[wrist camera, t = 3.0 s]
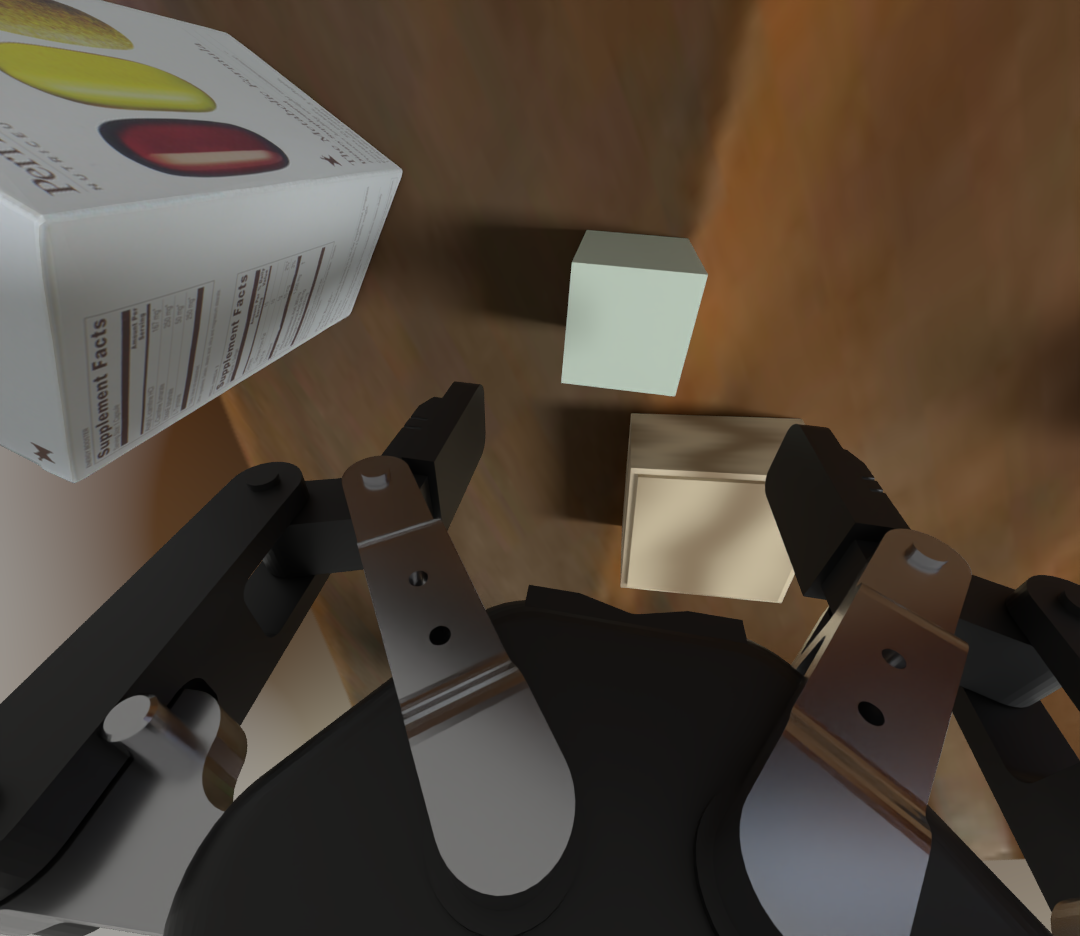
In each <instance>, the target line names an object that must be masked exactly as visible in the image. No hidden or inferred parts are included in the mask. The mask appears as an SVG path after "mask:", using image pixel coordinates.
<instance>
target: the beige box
mask: <svg viewBox="0 0 1080 936" xmlns="http://www.w3.org/2000/svg"><path fill="white" fill-rule="evenodd" d="M794 424H801V425H805V424H804V422H803V420H802V419H790V418H760V417H729V416H699V415H669V414H639V413H631V421H630V433H629V446H628V458H627V471H626V483H625V495H624V508H623V520H622V549H621V587H625V588H635V589H645V590H655V591H665V592H675V593H685V594H695V595H705V596H716V597H726V598H736V599H746V600H756V601H766V602H776V603H782V601H783V598H784V596H785V594H786V592H787V590H788V587H789V585H790V583H791V581H792V579H793V576H794V574H795V573H794V570H793V567H792V564H791V562H790V559H789V556H788V554H787V551H786V548H785V546H784V543H783V540H782V538H781V535H780V532H779V529H778V527H777V524H776V521H775V519H774V516H773V513H772V511H771V508H770V505H769V502H768V500H767V497H766V494H765V480H766V476H767V473H768V470H769V468H770V466H771V464H772V462H773V460H774V458H775V456H776V454H777V451H778V449H779V447H780V445H781V443H782V441H783V439H784V437H785V435H786V433H787V431H788V429H789V428H790V427H791V426H792V425H794Z"/></svg>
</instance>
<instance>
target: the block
mask: <svg viewBox="0 0 1080 936" xmlns="http://www.w3.org/2000/svg"><path fill="white" fill-rule="evenodd" d="M707 276H708V274H707V272H706V270H705V269H704V267H703V265H702V263H701V261H700V259H699V258H698V256H697V254H696V252H695V250H694V248H693V246H692V245H691V243H690V241H689V239H687V238H675V237H663V236H652V235H640V234H628V233H616V232H605V231H593V230H586V233H585V235H584V237H583V239H582V241H581V243H580V246H579V248H578V250H577V252H576V254H575V256H574V259H573V261H572V266H571V278H570V289H569V301H568V312H567V324H566V335H565V347H564V358H563V370H562V381H561V383H568V384H576V385H584V386H593V387H601V388H609V389H618V390H626V391H634V392H642V393H651V394H659V395H667V396H675V394H676V391H677V387H678V383H679V380H680V376H681V372H682V369H683V365H684V361H685V357H686V354H687V350H688V346H689V343H690V339H691V335H692V332H693V328H694V324H695V321H696V317H697V313H698V309H699V306H700V302H701V298H702V295H703V291H704V287H705V284H706V280H707Z"/></svg>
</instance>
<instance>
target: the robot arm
mask: <svg viewBox="0 0 1080 936" xmlns="http://www.w3.org/2000/svg"><path fill="white" fill-rule="evenodd" d="M484 444H485V408H484V390H483V386H482V385H480V384H472V383H463V382H453V384H452V385H451V386H450V388H449V389H448V391H447V392H446V394H445V395H444V396H443V398H438V397H433V398H431V399H430V400H428V401H426V402H424V403H423V404H421V405H419V407H418V408H417V409H416V411H415V412H414V413H413V414H412V416H411V419H410V418H409V420H408V421H407V422H406V424H405V425H404V428H402V429H401V430H400V432H399V433H398V434H397V435H396V437H395V438H394V439H393V441H392V442H391V443H390V445H389V446H388V447H387V449H386V450H385V451H384V453H383V454H382V455H381V456H374V457H369V458H365V459H363V460H360V461H358V462H356V463H354V464H353V465H351V466H350V467H349V468H348V469H347V470H346V471H345V472H344V474H343V476H342V478H338V479H326V480H313V481H305V480H304V478H303V475H302V472H301V470H300V469H299V468H298V467H297V466H295V465H293V464H290V463H285V462H271V463H265V464H260V465H257V466H254V467H251V468H249V469H247V470H245V471H243V472H241V473H240V474H238V475H237V476H236V477H235V478H233V479H232V480H231V481H230V482H229V483H228V484H227V485H226V486H225V487H224V488H223V489H222V490H221V491H220V492H219V493H218V494H217V495H216V496H214V497H213V498H212V499H211V501H209V502H208V503H207V504H206V505H205V506H204V507H203V508H202V509H201V510H200V511H199V512H198V513H197V514H196V515H195V516H194V517H193V518H192V519H191V520H190V521H189V522H188V523H187V524H186V525H185V526H184V527H182V528H181V529H180V530H179V531H178V532H177V533H176V535H174V536H173V537H172V538H171V539H170V540H169V541H168V542H167V543H166V544H165V545H164V546H163V547H162V548H161V549H160V550H159V551H158V552H157V553H156V554H155V555H154V556H153V557H152V558H150V559H149V561H147V562H146V564H144V565H143V566H142V567H141V568H140V569H139V570H138V571H137V572H136V573H135V574H134V575H133V576H132V577H131V578H130V579H129V580H128V581H127V582H126V583H125V584H124V585H123V586H122V587H121V588H120V589H119V590H117V591H116V592H115V593H114V594H113V595H112V596H111V597H110V598H109V599H108V600H107V601H106V602H105V603H104V604H103V605H102V606H101V607H100V608H99V609H98V610H97V611H96V612H95V613H94V614H93V615H92V616H91V617H90V618H89V619H88V620H87V621H85V623H83V624H82V625H81V626H80V627H79V628H78V629H77V630H76V631H75V632H74V633H73V634H72V635H71V636H70V637H69V638H68V639H67V640H66V641H65V642H64V643H63V644H62V645H61V646H60V647H59V648H58V649H57V650H56V651H55V652H54V653H52V654H51V655H50V656H49V657H48V658H47V659H46V660H45V661H44V662H43V663H42V664H41V665H40V666H39V667H38V668H37V669H36V670H35V671H34V672H33V673H32V674H31V675H30V676H29V677H28V678H27V679H26V680H25V681H24V682H23V683H22V684H21V685H19V686H18V688H17V689H15V690H14V691H13V692H12V693H11V694H10V695H9V696H8V697H7V698H6V699H5V700H4V701H3V702H2V703H1V704H0V934H4V935H10V936H25V935H29V934H34V935H41V936H84V935H86V934H89V933H91V932H93V931H95V930H97V929H99V928H100V927H101V928H107V929H113V930H119V931H125V932H132V933H138V934H144V935H151V936H1080V760H1079V759H1078V757H1077V756H1076V754H1075V753H1074V751H1073V750H1072V748H1071V747H1070V745H1069V744H1068V742H1067V741H1066V739H1065V738H1064V736H1063V735H1062V733H1061V731H1060V730H1059V728H1058V727H1057V725H1056V724H1055V722H1054V721H1053V719H1052V718H1051V716H1050V715H1049V713H1048V712H1047V710H1046V709H1045V707H1044V706H1043V704H1042V703H1041V701H1040V700H1041V699H1042V698H1044V697H1046V696H1047V695H1049V694H1051V693H1052V692H1054V691H1056V690H1058V689H1059V688H1061V687H1062V688H1063V689H1064V690H1065V692H1066V693H1067V695H1068V696H1069V697H1070V699H1071V700H1072V702H1073V703H1074V704H1075V706H1076V707H1077V709H1078V710H1079V711H1080V585H1078V584H1075V583H1073V582H1070V581H1068V580H1064V579H1061V578H1058V577H1053V576H1047V575H1037V576H1033V577H1031V578H1029V579H1028V580H1027V581H1025V582H1024V583H1023V584H1022V585H1021V586H1020V587H1018V588H1017V589H1016V590H1015V589H1012V588H1009V587H1006V586H1003V585H1000V584H997V583H994V582H991V581H989V580H986V579H983V578H980V577H977V576H974V575H972V573H971V569H970V567H969V565H968V564H967V562H966V561H965V560H964V559H963V558H962V556H961V555H960V554H958V553H957V552H956V551H955V550H954V549H952V548H951V547H950V546H948V545H947V544H945V543H943V542H942V541H940V540H938V539H936V538H934V537H932V536H929V535H927V534H924V533H922V532H918V531H914V530H911V529H910V528H909V526H908V525H907V524H906V522H905V521H904V519H903V518H902V516H901V515H900V514H899V512H898V511H897V509H896V508H895V506H894V505H893V504H892V502H891V501H890V499H889V498H888V496H887V495H886V494H885V493H883V489H882V488H881V486H880V485H879V484H878V482H877V481H874V479H875V478H874V476H873V475H872V474H871V472H870V471H869V469H868V468H867V466H866V465H865V464H864V463H863V462H862V461H860V460H859V459H858V458H857V457H855V456H854V455H853V454H851V453H850V452H849V451H848V450H844V449H843V448H842V447H841V445H840V444H839V442H838V441H837V439H836V438H835V436H834V435H833V433H832V432H831V430H830V429H829V428H826V427H818V426H810V425H801V424H794V425H792V426H791V427H790V428H789V429H788V431H787V433H786V435H785V437H784V439H783V441H782V443H781V445H780V447H779V449H778V451H777V454H776V456H775V458H774V460H773V462H772V464H771V466H770V468H769V470H768V473H767V476H766V480H765V494H766V497H767V500H768V502H769V505H770V508H771V511H772V513H773V516H774V519H775V521H776V524H777V527H778V529H779V532H780V535H781V538H782V540H783V543H784V546H785V548H786V551H787V554H788V556H789V559H790V562H791V564H792V567H793V570H794V573H795V575H796V578H797V581H798V583H799V586H800V589H801V591H802V594H803V596H805V597H812V598H818V599H824V600H827V602H828V604H829V607H828V608H827V609H826V610H825V612H824V613H823V614H822V616H821V617H820V619H819V621H818V622H817V624H816V625H815V627H814V629H813V630H812V632H811V634H810V635H809V637H808V638H807V640H806V642H805V643H804V645H803V647H802V648H801V650H800V652H799V653H798V655H797V656H796V658H795V660H794V661H793V663H792V665H790V664H789V663H787V662H786V661H785V660H783V659H782V658H781V657H779V656H778V655H776V654H775V653H773V652H771V651H770V650H768V649H766V648H765V647H763V646H761V645H759V644H757V643H755V642H753V641H751V640H748V639H747V638H746V634H745V630H744V625H743V621H742V620H738V619H732V618H726V617H720V616H714V615H708V614H702V613H696V612H690V611H684V612H668V613H652V614H631V613H628V612H625V611H623V610H620V609H618V608H615V607H613V606H610V605H608V604H605V603H603V602H600V601H598V600H595V599H593V598H590V597H588V596H585V595H583V594H580V593H575V592H569V591H563V590H557V589H551V588H545V587H539V586H533V585H529V588H528V592H527V597H526V600H522V601H513V602H508V603H503V604H500V605H497V606H494V607H491V608H489V609H486V610H485V608H484V606H483V604H482V602H481V600H480V598H479V596H478V594H477V592H476V590H475V588H474V586H473V583H472V581H471V579H470V577H469V575H468V573H467V571H466V569H465V567H464V565H463V563H462V561H461V559H460V557H459V555H458V553H457V551H456V549H455V546H454V544H453V542H452V540H451V538H450V536H449V534H448V532H447V531H448V528H449V526H450V524H451V522H452V520H453V517H454V515H455V513H456V511H457V508H458V506H459V504H460V502H461V500H462V497H463V495H464V493H465V491H466V489H467V486H468V484H469V482H470V480H471V478H472V475H473V473H474V471H475V469H476V467H477V464H478V462H479V460H480V458H481V456H482V453H483V449H484ZM262 560H263V561H262ZM261 561H262V562H261ZM260 562H261V563H260ZM259 563H260V565H259ZM258 565H259V566H258ZM257 566H258V567H257ZM256 567H257V569H256ZM255 569H256V570H255ZM363 569H364V572H365V576H366V579H367V583H368V587H369V591H370V594H371V598H372V602H373V605H374V609H375V613H376V617H377V620H378V624H379V628H380V632H381V635H382V639H383V643H384V647H385V650H386V654H387V658H388V662H389V665H390V669H391V673H392V677H391V678H390V679H389V680H388V681H386V682H385V683H384V684H382V685H381V686H380V687H378V688H377V689H376V690H374V691H373V692H372V693H370V694H369V695H368V696H366V697H365V698H364V699H362V700H361V701H360V702H359V703H357V704H356V705H355V706H353V707H352V708H351V709H349V710H348V711H347V712H345V713H344V714H343V715H342V716H340V717H339V718H338V719H336V720H335V721H334V722H332V723H331V724H330V725H328V726H327V727H326V728H324V729H323V730H322V731H320V732H319V733H318V734H316V735H315V736H314V737H313V738H311V739H310V740H308V741H307V742H306V743H305V744H303V745H302V746H301V747H299V748H298V749H297V750H295V751H294V752H293V753H292V754H290V755H289V756H287V757H286V758H285V759H284V760H282V761H281V762H279V763H278V764H277V765H276V766H274V767H273V768H272V769H270V770H269V771H268V772H266V773H265V774H264V775H262V776H261V777H260V778H259V779H257V780H256V781H255V782H254V783H253V784H251V785H250V786H249V787H248V788H247V789H246V790H245V791H244V792H243V793H242V794H241V795H239V796H238V798H237V799H236V800H235V801H234V802H233V795H234V788H235V785H236V781H237V778H238V776H239V774H240V771H241V769H242V766H243V764H244V761H245V757H246V754H247V739H246V735H245V733H244V731H243V729H242V728H241V727H240V725H241V724H242V722H243V720H244V718H245V717H246V715H247V713H248V712H249V710H250V708H251V707H252V705H253V703H254V702H255V700H256V698H257V697H258V695H259V693H260V692H261V689H262V688H263V687H264V685H265V683H266V681H267V680H268V678H269V676H270V675H271V673H272V671H273V670H274V668H275V666H276V664H277V663H278V661H279V660H280V658H281V656H282V655H283V653H284V651H285V649H286V648H287V646H288V644H289V643H290V641H291V639H292V638H293V636H294V634H295V633H296V631H297V629H298V628H299V626H300V624H301V623H302V621H303V619H304V617H305V616H306V614H307V612H308V611H309V609H310V607H311V606H312V604H313V602H314V601H315V599H316V597H317V596H318V594H319V592H320V591H321V589H322V587H323V585H324V584H325V582H326V580H327V579H328V577H329V575H330V574H331V573H336V572H345V571H354V570H363ZM254 570H255V571H254ZM253 571H254V573H253ZM252 573H253V574H252ZM251 574H252V575H251ZM250 575H251V576H250ZM249 577H250V578H249ZM248 578H249V579H248ZM952 712H953V714H954V716H955V718H956V720H957V722H958V724H959V726H960V728H961V730H962V732H963V734H964V736H965V738H966V740H967V742H968V744H969V746H970V748H971V750H972V752H973V754H974V756H975V758H976V760H977V763H978V765H979V767H980V769H981V771H982V773H983V775H984V777H985V779H986V781H987V783H988V785H989V787H990V789H991V791H992V793H993V795H994V797H995V799H996V801H997V803H998V805H999V807H1000V809H1001V811H1002V813H1003V815H1004V817H1005V819H1006V821H1007V823H1008V825H1009V827H1010V829H1011V831H1012V833H1013V835H1014V837H1015V839H1016V841H1017V843H1018V845H1019V847H1020V849H1021V851H1022V853H1023V855H1024V857H1025V859H1026V861H1027V863H1028V865H1029V867H1030V869H1031V871H1032V873H1033V875H1034V877H1035V879H1036V881H1037V884H1038V886H1039V888H1040V890H1041V892H1042V893H1043V896H1044V897H1045V900H1046V902H1047V904H1048V906H1049V908H1050V910H1051V912H1052V915H1051V930H1052V933H1050V931H1049V930H1048V929H1047V928H1045V926H1044V925H1043V924H1042V923H1041V922H1040V921H1039V920H1038V919H1037V918H1036V917H1035V916H1034V915H1033V914H1032V913H1031V912H1030V911H1029V910H1028V909H1027V907H1026V906H1025V905H1024V904H1023V903H1022V902H1020V900H1019V899H1018V898H1017V897H1016V896H1015V895H1014V894H1013V893H1012V892H1011V891H1010V890H1009V889H1008V888H1007V887H1006V886H1005V885H1004V884H1003V883H1002V882H1001V880H1000V879H999V878H997V876H996V875H995V874H994V873H993V872H992V871H991V870H990V869H989V868H988V867H987V866H986V865H985V864H984V863H983V862H982V861H981V860H980V859H979V858H978V857H977V855H976V854H975V853H974V852H973V851H972V850H971V849H970V848H969V847H968V846H967V845H966V844H965V843H964V842H963V841H962V840H961V839H960V838H959V837H958V836H957V835H956V834H955V833H954V832H953V831H952V829H951V828H950V827H949V826H948V825H947V824H946V823H945V822H944V821H943V820H942V819H941V818H940V817H939V816H938V815H937V814H936V813H935V812H934V811H933V810H932V809H931V808H930V807H929V806H928V805H927V803H928V799H929V795H930V792H931V788H932V784H933V781H934V777H935V773H936V770H937V766H938V762H939V758H940V755H941V751H942V747H943V744H944V740H945V736H946V732H947V729H948V725H949V721H950V718H951V714H952ZM1052 934H1053V935H1052Z"/></svg>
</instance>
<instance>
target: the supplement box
mask: <svg viewBox="0 0 1080 936" xmlns="http://www.w3.org/2000/svg"><path fill="white" fill-rule="evenodd" d="M401 176H402V169H401V168H400V167H398V166H397V165H396V164H395V163H393V162H392V161H391V160H389V159H388V158H387V157H386V156H384V155H383V154H382V153H380V152H379V151H378V150H377V149H375V148H374V147H373V146H372V145H370V144H369V143H368V142H367V141H365V140H364V139H363V138H361V137H360V136H359V135H358V134H356V133H355V132H354V131H353V130H351V129H350V128H349V127H347V126H346V125H345V124H344V123H342V122H341V121H340V120H338V119H337V118H336V117H334V116H333V115H332V114H331V113H329V112H328V111H327V110H326V109H324V108H323V107H322V106H320V105H319V104H318V103H317V102H315V101H314V100H313V99H312V98H310V97H309V96H308V95H306V94H305V93H304V92H303V91H301V90H300V89H299V88H298V87H296V86H295V85H294V84H292V83H291V82H290V81H289V80H287V79H286V78H285V77H283V76H282V75H281V74H280V73H278V72H277V71H276V70H275V69H273V68H272V67H271V66H269V65H268V64H267V63H266V62H264V61H263V60H262V59H260V58H259V57H258V56H257V55H255V54H254V53H253V52H251V51H250V50H249V49H248V48H246V47H245V46H244V45H242V44H241V43H240V42H238V41H237V40H236V39H234V38H233V37H232V36H230V35H229V34H227V33H225V32H222V31H217V30H214V29H210V28H207V27H203V26H199V25H195V24H191V23H187V22H183V21H179V20H175V19H171V18H168V17H164V16H160V15H156V14H152V13H148V12H144V11H140V10H136V9H132V8H129V7H125V6H121V5H117V4H113V3H109V2H105V1H101V0H0V445H1V446H3V447H5V448H7V449H9V450H11V451H13V452H14V453H16V454H18V455H20V456H22V457H24V458H26V459H28V460H30V461H32V462H34V463H36V464H38V465H40V466H41V467H42V468H43V469H44V470H45V471H48V472H50V473H52V474H54V475H56V476H58V477H61V478H63V479H65V480H67V481H69V482H72V483H76V482H79V481H81V480H83V479H85V478H86V477H88V476H89V475H91V474H93V473H94V472H96V471H98V470H99V469H101V468H102V467H104V466H106V465H107V464H109V463H111V462H112V461H114V460H115V459H117V458H118V457H120V456H121V455H123V454H125V453H126V452H128V451H130V450H131V449H133V448H134V447H136V446H138V445H139V444H141V443H142V442H144V441H146V440H148V439H149V438H151V437H152V436H154V435H156V434H157V433H159V432H160V431H162V430H164V429H165V428H167V427H169V426H170V425H172V424H173V423H174V422H176V421H178V420H180V419H182V418H183V417H185V416H186V415H188V414H190V413H191V412H193V411H195V410H196V409H198V408H199V407H201V406H203V405H204V404H206V403H207V402H209V401H211V400H212V399H214V398H215V397H217V396H219V395H220V394H222V393H224V392H225V391H227V390H228V389H230V388H231V387H233V386H234V385H236V384H238V383H239V382H241V381H243V380H244V379H246V378H248V377H249V376H251V375H253V374H254V373H256V372H257V371H259V370H261V369H262V368H264V367H266V366H267V365H269V364H270V363H272V362H274V361H275V360H277V359H279V358H280V357H282V356H283V355H285V354H287V353H288V352H290V351H291V350H293V349H295V348H296V347H298V346H299V345H301V344H303V343H304V342H306V341H308V340H309V339H311V338H313V337H314V336H316V335H317V334H319V333H321V332H322V331H324V330H325V329H327V328H329V327H330V326H332V325H334V324H335V323H337V322H339V321H340V320H342V319H344V318H345V317H347V316H348V315H350V313H351V311H352V308H353V306H354V303H355V300H356V298H357V295H358V292H359V290H360V287H361V284H362V282H363V279H364V276H365V273H366V271H367V268H368V265H369V262H370V260H371V257H372V254H373V251H374V249H375V246H376V244H377V241H378V238H379V236H380V233H381V230H382V228H383V225H384V222H385V220H386V217H387V214H388V212H389V209H390V206H391V203H392V201H393V198H394V195H395V193H396V190H397V187H398V184H399V182H400V179H401Z"/></svg>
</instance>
